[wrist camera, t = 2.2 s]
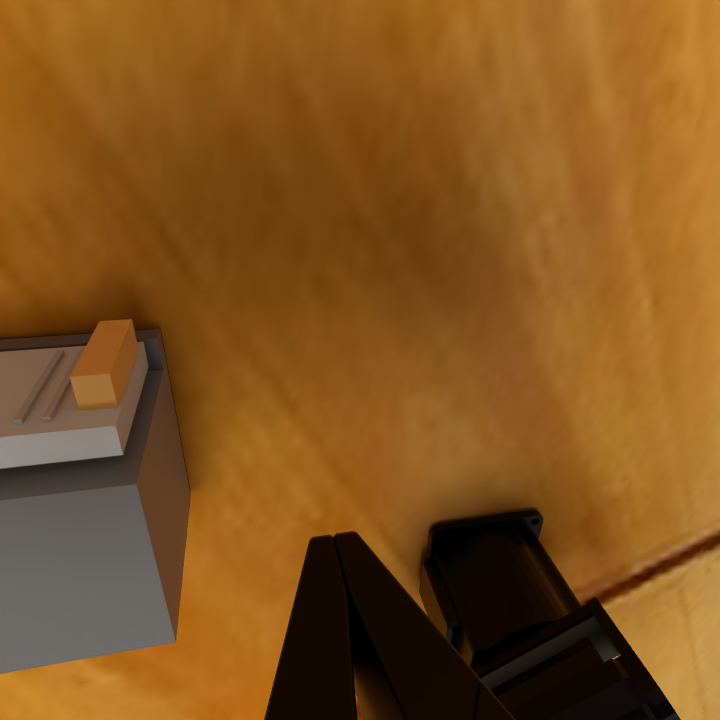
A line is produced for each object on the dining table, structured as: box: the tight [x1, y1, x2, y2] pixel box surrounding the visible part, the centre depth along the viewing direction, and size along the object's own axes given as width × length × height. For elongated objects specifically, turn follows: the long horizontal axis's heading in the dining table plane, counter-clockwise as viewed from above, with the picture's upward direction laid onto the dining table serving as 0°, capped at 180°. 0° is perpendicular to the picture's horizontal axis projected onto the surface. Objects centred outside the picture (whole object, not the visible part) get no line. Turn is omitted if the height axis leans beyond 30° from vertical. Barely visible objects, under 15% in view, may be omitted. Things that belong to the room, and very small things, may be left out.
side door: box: [0, 319, 149, 469], centre depth 15 cm, size 6×2×5 cm, turn 89°
